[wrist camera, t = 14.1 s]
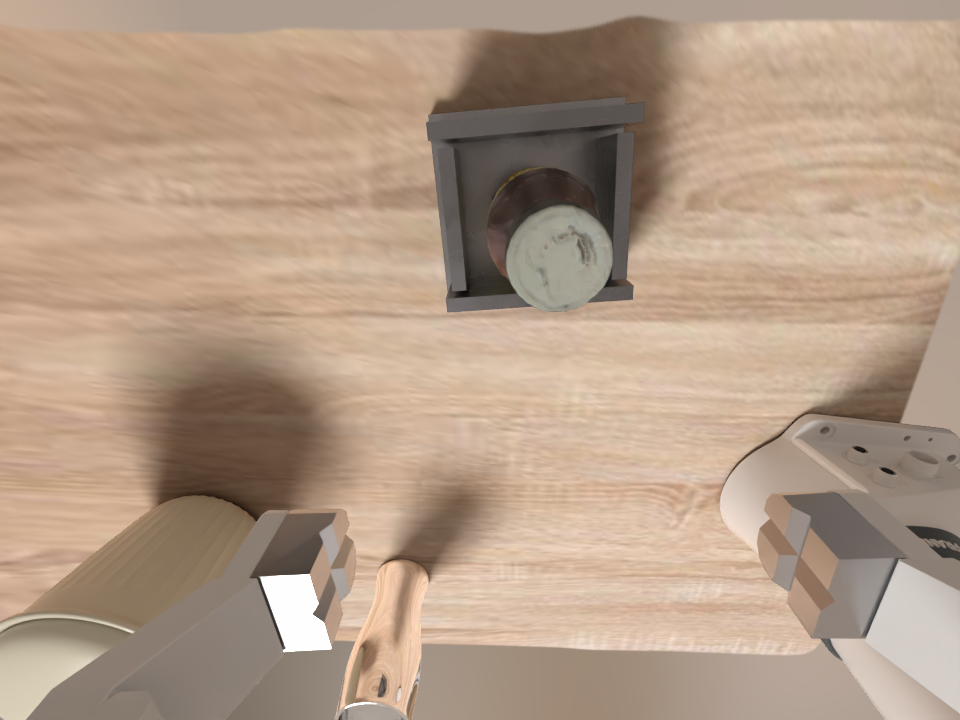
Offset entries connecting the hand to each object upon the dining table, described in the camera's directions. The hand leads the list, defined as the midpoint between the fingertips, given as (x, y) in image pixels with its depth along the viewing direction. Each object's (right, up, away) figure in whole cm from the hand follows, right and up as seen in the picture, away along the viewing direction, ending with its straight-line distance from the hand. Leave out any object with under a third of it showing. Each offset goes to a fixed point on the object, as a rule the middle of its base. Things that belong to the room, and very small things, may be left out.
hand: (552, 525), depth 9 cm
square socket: (+2, +15, +27) cm, 31 cm away
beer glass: (-10, -22, +43) cm, 50 cm away
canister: (-31, -16, +41) cm, 54 cm away
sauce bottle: (+2, +15, +26) cm, 30 cm away
